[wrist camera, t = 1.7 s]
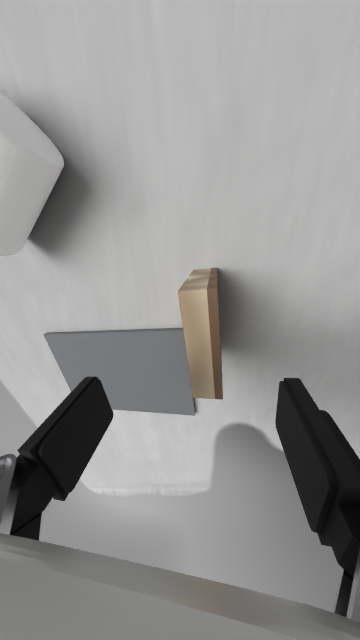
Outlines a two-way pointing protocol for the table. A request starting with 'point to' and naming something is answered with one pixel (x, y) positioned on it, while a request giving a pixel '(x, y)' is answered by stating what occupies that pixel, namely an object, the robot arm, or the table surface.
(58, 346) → the mat
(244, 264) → the table surface
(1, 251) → the mug
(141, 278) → the table surface
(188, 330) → the tile
